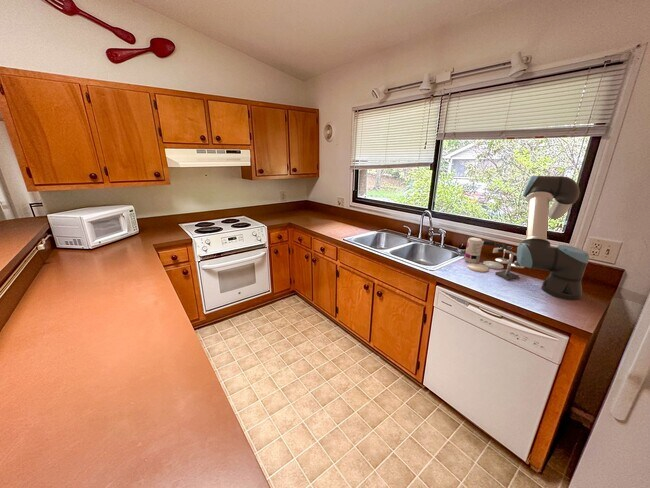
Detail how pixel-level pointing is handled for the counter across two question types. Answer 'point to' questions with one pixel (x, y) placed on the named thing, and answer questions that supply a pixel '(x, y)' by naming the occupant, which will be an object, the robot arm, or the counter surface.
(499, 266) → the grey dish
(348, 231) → the counter surface
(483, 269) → the cream dish
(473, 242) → the supplement can
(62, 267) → the counter surface
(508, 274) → the balance
